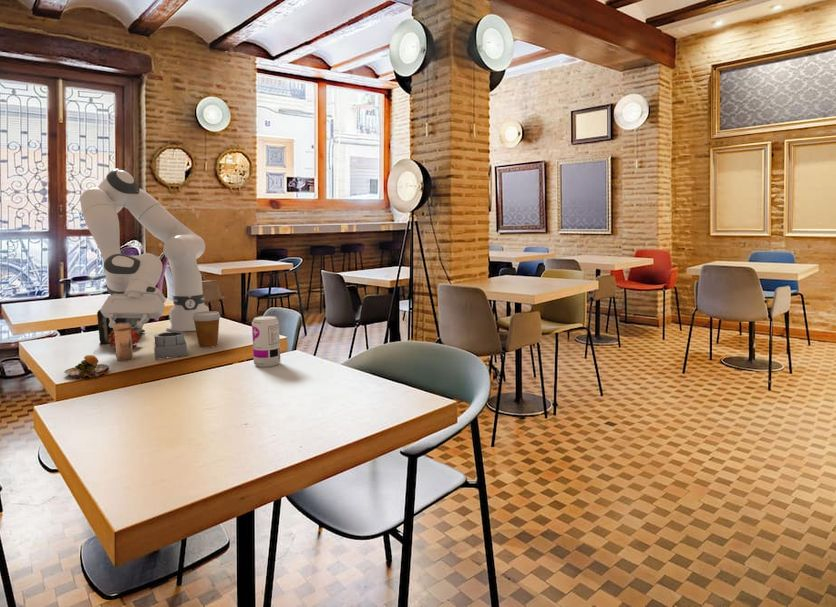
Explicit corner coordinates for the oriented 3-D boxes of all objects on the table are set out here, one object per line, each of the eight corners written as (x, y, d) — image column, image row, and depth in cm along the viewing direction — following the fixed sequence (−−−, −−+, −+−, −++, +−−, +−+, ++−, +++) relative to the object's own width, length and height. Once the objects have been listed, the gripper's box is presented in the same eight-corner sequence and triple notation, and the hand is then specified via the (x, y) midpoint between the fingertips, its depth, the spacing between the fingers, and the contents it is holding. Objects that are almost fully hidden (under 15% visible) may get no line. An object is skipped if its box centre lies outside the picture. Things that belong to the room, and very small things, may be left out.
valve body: (187, 356, 199) (186, 335, 198) (155, 359, 195) (153, 338, 194) (184, 346, 213) (182, 327, 212) (153, 349, 209) (152, 330, 208)
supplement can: (256, 368, 183) (253, 321, 180) (252, 362, 190) (249, 316, 188) (282, 366, 186) (280, 319, 183) (277, 360, 193) (275, 314, 191)
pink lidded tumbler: (116, 358, 196) (112, 323, 194) (134, 357, 198) (131, 321, 196) (115, 362, 191) (112, 326, 189) (134, 360, 193) (131, 324, 192)
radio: (108, 346, 215) (104, 305, 213) (87, 345, 217) (83, 305, 214) (150, 333, 237) (147, 296, 235) (131, 332, 239) (128, 296, 237)
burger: (80, 369, 184) (77, 346, 183) (117, 369, 184) (115, 346, 183) (55, 380, 172) (52, 355, 171) (95, 380, 172) (92, 355, 171)
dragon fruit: (105, 355, 207) (139, 354, 216) (115, 344, 203) (149, 343, 212) (100, 334, 210) (134, 333, 219) (109, 322, 205) (144, 322, 215)
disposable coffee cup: (226, 343, 218) (224, 311, 216) (215, 349, 209) (213, 315, 207) (201, 342, 219) (199, 310, 217) (189, 348, 210) (187, 315, 208)
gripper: (105, 288, 203) (90, 321, 195) (163, 288, 202) (150, 322, 194) (114, 298, 208) (99, 331, 200) (170, 299, 207) (158, 332, 199)
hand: (125, 327), depth 197 cm, fingers open, 8 cm apart
